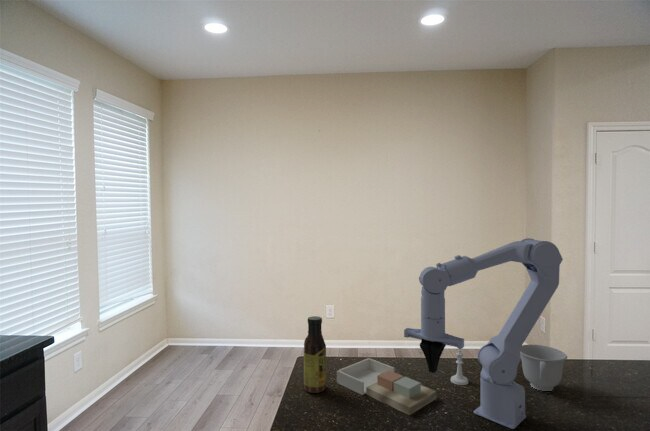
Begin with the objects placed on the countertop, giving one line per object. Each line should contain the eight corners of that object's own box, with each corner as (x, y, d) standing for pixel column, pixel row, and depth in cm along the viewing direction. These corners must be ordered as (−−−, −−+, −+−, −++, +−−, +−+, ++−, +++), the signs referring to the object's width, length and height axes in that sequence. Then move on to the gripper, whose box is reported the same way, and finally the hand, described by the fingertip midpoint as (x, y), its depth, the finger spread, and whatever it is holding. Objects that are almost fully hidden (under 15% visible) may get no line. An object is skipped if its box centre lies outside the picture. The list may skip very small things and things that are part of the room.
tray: (394, 379, 110) (394, 367, 110) (362, 395, 101) (362, 382, 101) (368, 369, 117) (368, 357, 117) (336, 382, 108) (336, 370, 108)
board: (436, 398, 99) (436, 391, 99) (409, 415, 91) (409, 407, 91) (393, 381, 109) (393, 374, 109) (366, 394, 101) (366, 387, 101)
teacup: (517, 396, 100) (517, 359, 99) (517, 374, 113) (517, 341, 113) (571, 407, 94) (571, 367, 94) (565, 383, 107) (565, 348, 107)
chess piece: (465, 377, 111) (465, 344, 111) (470, 385, 106) (470, 350, 106) (448, 377, 111) (448, 343, 111) (452, 384, 106) (452, 350, 106)
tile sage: (420, 392, 98) (420, 382, 98) (409, 398, 95) (409, 388, 95) (404, 385, 102) (404, 376, 102) (393, 391, 98) (393, 382, 98)
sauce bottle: (323, 395, 101) (323, 322, 101) (301, 393, 102) (300, 320, 102) (328, 384, 107) (327, 315, 107) (307, 382, 108) (306, 314, 108)
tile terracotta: (403, 385, 102) (403, 375, 102) (392, 390, 99) (392, 381, 99) (388, 379, 106) (388, 370, 106) (377, 384, 103) (377, 375, 103)
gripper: (467, 317, 91) (467, 372, 91) (411, 308, 100) (411, 359, 100) (459, 324, 86) (459, 383, 86) (400, 314, 94) (400, 367, 94)
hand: (433, 371), depth 92 cm, fingers closed
